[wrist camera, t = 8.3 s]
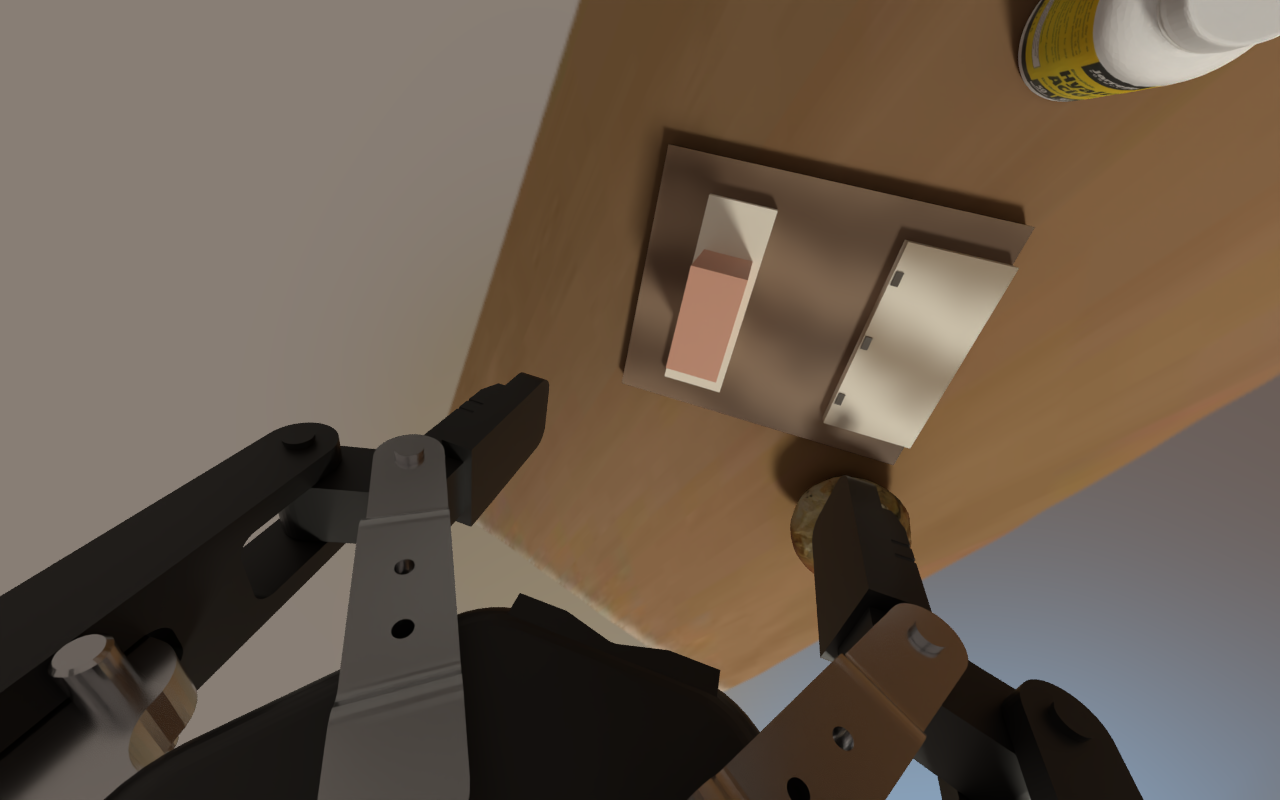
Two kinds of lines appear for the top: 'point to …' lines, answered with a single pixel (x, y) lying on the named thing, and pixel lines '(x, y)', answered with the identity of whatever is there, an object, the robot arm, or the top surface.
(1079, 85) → the supplement bottle
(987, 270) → the board
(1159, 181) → the top surface
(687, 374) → the pink and white block
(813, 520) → the onion
